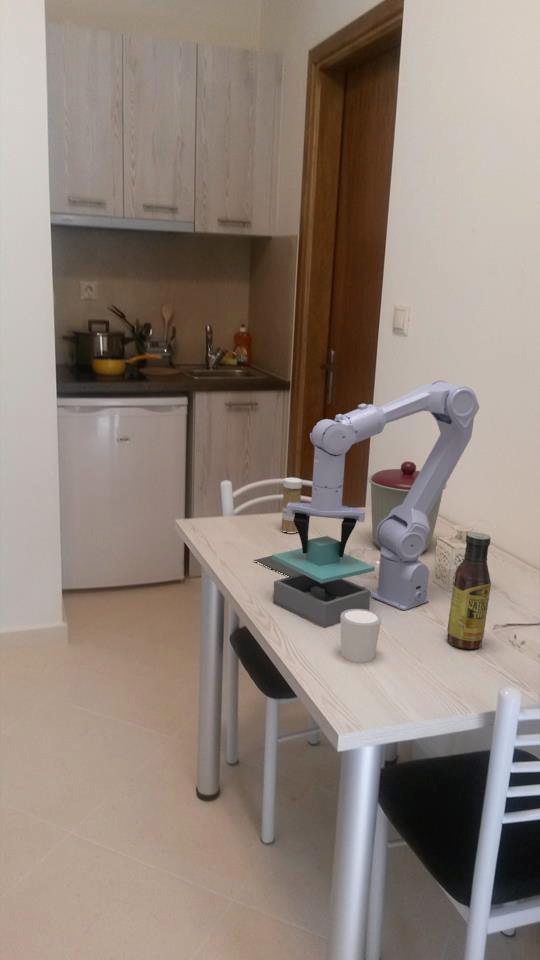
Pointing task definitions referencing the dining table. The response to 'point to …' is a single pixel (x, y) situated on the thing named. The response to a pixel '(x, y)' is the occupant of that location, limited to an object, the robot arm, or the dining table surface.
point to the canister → (396, 495)
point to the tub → (319, 598)
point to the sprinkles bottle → (290, 495)
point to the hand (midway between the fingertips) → (323, 553)
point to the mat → (277, 566)
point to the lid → (323, 561)
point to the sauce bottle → (470, 594)
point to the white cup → (359, 634)
